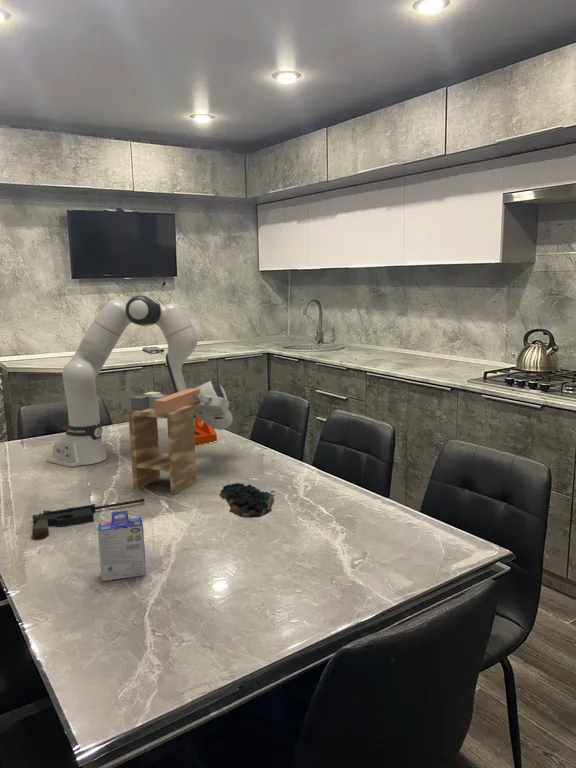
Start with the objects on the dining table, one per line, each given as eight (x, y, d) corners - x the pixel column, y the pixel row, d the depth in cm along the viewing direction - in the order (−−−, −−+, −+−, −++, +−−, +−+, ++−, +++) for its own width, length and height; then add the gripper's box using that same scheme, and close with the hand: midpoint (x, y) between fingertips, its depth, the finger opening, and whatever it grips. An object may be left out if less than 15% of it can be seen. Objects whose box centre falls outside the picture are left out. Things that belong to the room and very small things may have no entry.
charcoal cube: (131, 410, 189) (130, 397, 188) (139, 407, 192) (138, 395, 192) (142, 410, 187) (141, 398, 187) (149, 408, 191) (148, 396, 190)
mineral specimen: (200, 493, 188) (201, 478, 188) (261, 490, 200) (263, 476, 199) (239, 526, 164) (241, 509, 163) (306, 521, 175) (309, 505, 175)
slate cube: (149, 408, 190) (149, 396, 190) (156, 406, 194) (156, 394, 193) (160, 409, 189) (159, 397, 188) (167, 407, 193) (166, 394, 192)
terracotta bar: (154, 413, 184) (153, 400, 183) (190, 399, 204) (190, 388, 203) (165, 413, 182) (164, 401, 182) (200, 400, 203) (200, 388, 202)
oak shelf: (133, 488, 192) (128, 410, 188) (155, 476, 204) (151, 402, 200) (175, 494, 187) (171, 413, 182) (196, 481, 199) (193, 405, 194)
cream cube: (144, 405, 195) (143, 393, 194) (151, 403, 199) (150, 391, 198) (154, 406, 194) (154, 394, 193) (161, 404, 197) (160, 392, 197)
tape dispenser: (172, 438, 256) (171, 419, 255) (199, 433, 263) (198, 415, 261) (188, 447, 241) (187, 427, 240) (216, 442, 248) (216, 423, 246)
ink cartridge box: (145, 564, 140) (141, 506, 138) (146, 575, 135) (143, 515, 133) (101, 571, 138) (97, 512, 135) (101, 582, 132) (96, 521, 130)
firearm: (154, 520, 168) (143, 502, 181) (153, 510, 167) (143, 493, 181) (33, 542, 155) (31, 521, 168) (32, 531, 154) (30, 511, 168)
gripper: (182, 398, 216) (163, 385, 203) (233, 401, 208) (216, 388, 196) (178, 415, 214) (159, 402, 201) (229, 418, 206) (212, 406, 194)
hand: (188, 395), depth 199 cm, fingers open, 6 cm apart
